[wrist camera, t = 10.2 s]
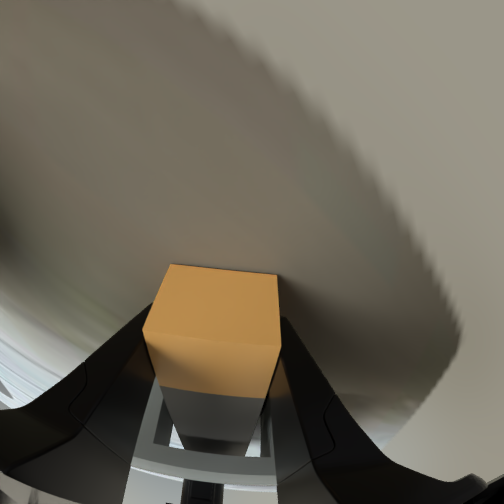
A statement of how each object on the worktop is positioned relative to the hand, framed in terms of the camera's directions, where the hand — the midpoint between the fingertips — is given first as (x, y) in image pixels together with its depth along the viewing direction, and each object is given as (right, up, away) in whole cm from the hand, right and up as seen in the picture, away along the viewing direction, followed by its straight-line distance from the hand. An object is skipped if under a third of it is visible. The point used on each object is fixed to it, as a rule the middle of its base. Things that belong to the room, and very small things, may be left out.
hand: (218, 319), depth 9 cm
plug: (-1, -5, +5) cm, 7 cm away
